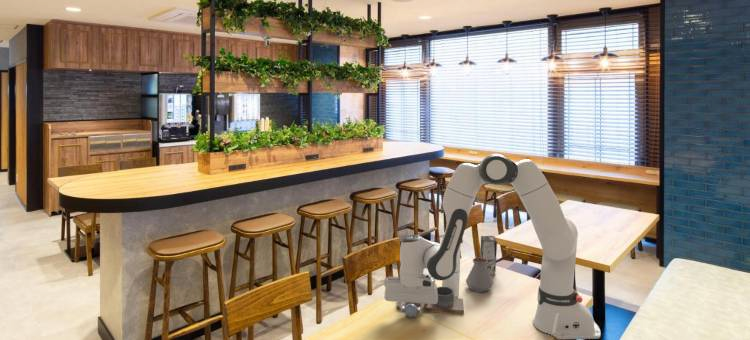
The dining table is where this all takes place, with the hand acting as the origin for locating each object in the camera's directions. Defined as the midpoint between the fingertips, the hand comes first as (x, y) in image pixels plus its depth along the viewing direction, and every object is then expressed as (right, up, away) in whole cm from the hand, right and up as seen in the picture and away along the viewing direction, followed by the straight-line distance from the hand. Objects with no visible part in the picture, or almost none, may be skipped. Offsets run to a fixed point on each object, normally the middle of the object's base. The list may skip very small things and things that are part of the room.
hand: (411, 312), depth 171 cm
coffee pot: (+36, +3, +26) cm, 45 cm away
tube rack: (+8, 0, +9) cm, 12 cm away
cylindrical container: (+18, +1, +19) cm, 27 cm away
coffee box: (+40, +6, +44) cm, 59 cm away
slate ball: (0, +1, 0) cm, 1 cm away
